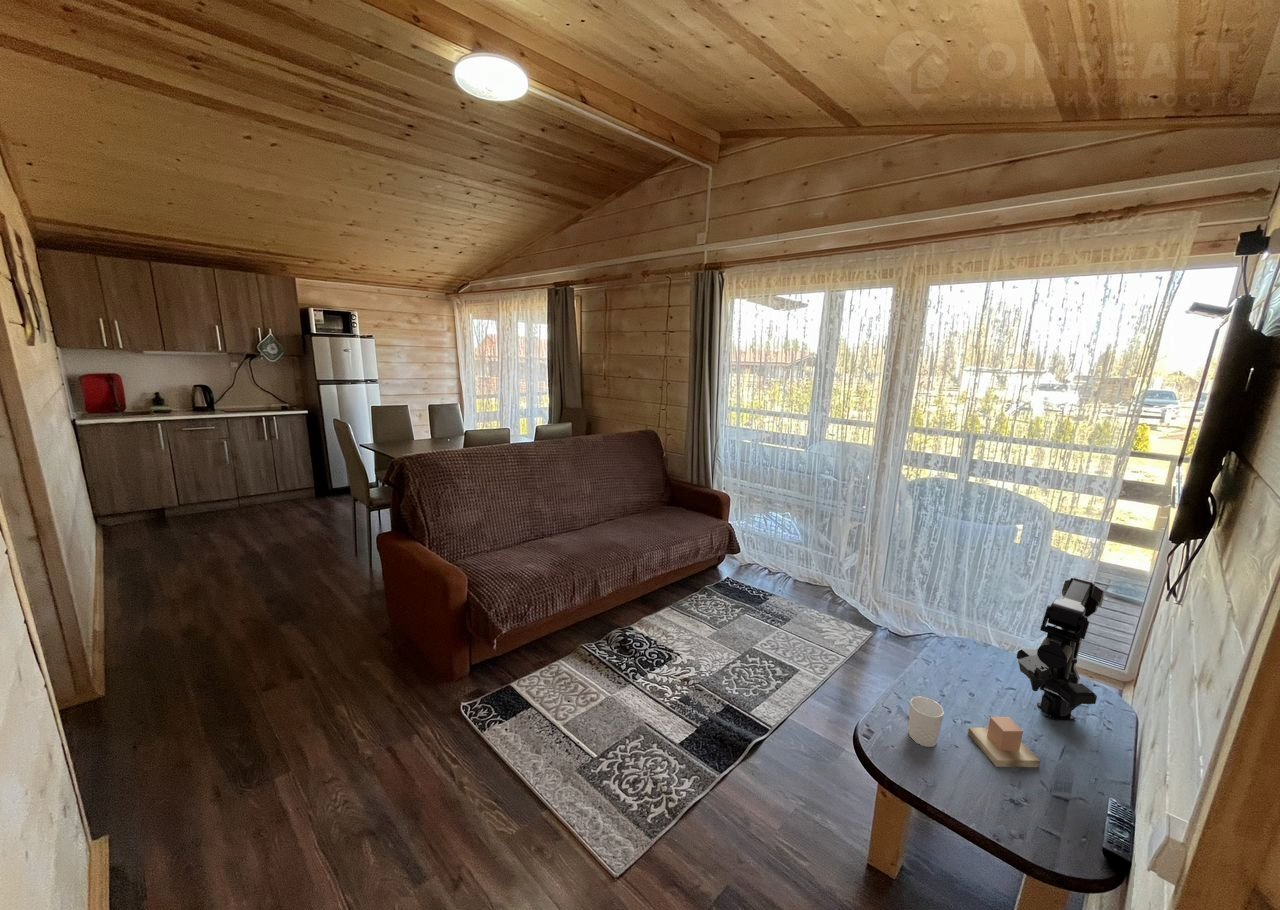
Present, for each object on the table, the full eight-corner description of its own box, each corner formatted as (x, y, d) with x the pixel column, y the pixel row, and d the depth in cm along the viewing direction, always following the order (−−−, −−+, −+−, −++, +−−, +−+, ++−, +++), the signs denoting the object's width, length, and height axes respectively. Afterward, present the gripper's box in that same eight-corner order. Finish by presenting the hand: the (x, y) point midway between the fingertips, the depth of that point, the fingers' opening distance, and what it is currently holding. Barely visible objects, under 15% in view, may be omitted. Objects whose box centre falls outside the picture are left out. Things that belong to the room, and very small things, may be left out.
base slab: (1007, 734, 135) (1008, 727, 134) (1038, 767, 124) (1040, 760, 123) (967, 733, 135) (968, 727, 134) (996, 766, 124) (997, 760, 123)
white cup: (937, 732, 135) (941, 701, 133) (940, 753, 128) (945, 720, 126) (905, 723, 138) (909, 693, 136) (907, 743, 131) (911, 711, 129)
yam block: (1005, 736, 131) (1008, 717, 130) (1019, 750, 126) (1023, 731, 125) (986, 735, 131) (990, 716, 130) (1000, 750, 126) (1003, 731, 125)
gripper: (1001, 630, 134) (993, 679, 138) (1057, 674, 116) (1046, 729, 119) (1042, 630, 134) (1032, 679, 138) (1104, 674, 116) (1091, 729, 119)
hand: (1048, 702), depth 128 cm, fingers open, 9 cm apart
